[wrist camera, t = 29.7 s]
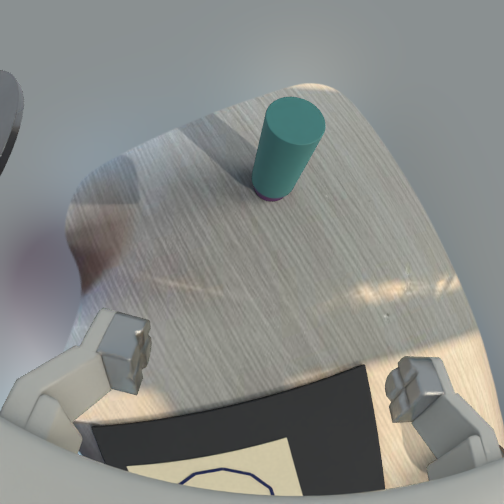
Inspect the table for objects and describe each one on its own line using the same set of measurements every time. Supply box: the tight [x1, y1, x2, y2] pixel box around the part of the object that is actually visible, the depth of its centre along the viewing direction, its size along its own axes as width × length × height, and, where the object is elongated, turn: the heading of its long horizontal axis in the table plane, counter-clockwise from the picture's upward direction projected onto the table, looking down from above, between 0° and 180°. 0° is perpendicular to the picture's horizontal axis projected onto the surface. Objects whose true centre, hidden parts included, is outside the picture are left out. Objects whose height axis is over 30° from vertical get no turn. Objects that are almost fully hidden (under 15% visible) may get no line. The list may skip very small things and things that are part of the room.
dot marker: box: [252, 97, 325, 201], centre depth 22 cm, size 4×4×10 cm
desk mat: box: [92, 365, 385, 496], centre depth 21 cm, size 24×20×1 cm
